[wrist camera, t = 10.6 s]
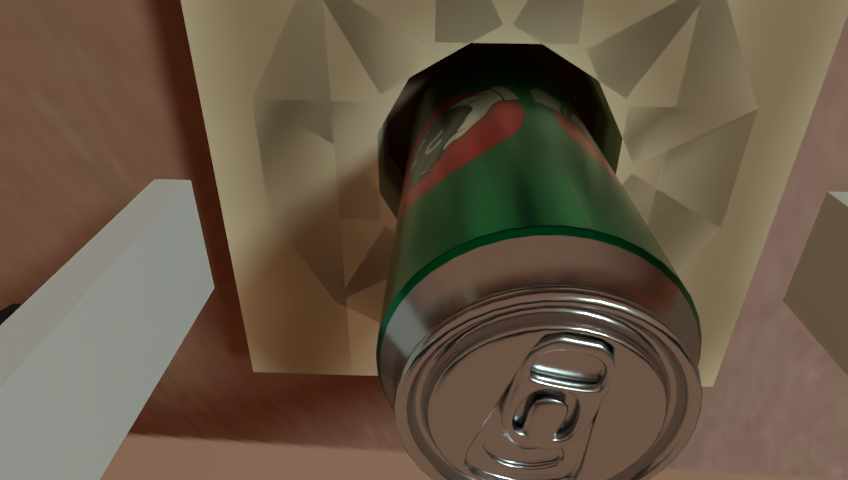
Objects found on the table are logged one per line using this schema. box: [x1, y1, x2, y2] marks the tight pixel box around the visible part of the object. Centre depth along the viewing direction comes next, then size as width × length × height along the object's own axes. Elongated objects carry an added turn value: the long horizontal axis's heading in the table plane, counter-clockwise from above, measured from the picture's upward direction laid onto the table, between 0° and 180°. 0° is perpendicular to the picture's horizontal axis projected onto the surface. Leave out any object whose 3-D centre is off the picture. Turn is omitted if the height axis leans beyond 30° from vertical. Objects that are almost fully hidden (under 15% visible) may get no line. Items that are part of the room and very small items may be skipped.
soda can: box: [376, 55, 702, 480], centre depth 13 cm, size 5×5×12 cm
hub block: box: [181, 0, 848, 387], centre depth 17 cm, size 16×16×3 cm
